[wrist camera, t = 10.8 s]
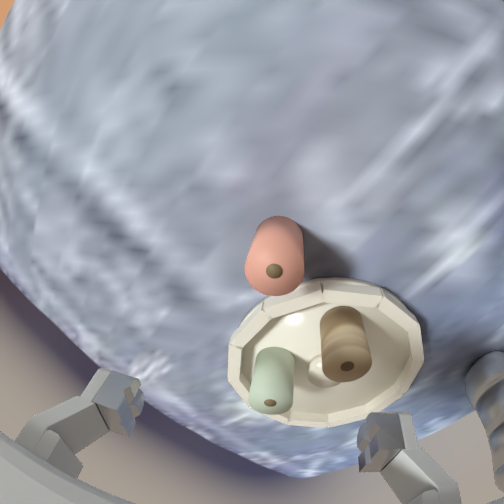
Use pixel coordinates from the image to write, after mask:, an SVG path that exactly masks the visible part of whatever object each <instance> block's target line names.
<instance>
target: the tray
mask: <svg viewBox="0 0 504 504" xmlns="http://www.w3.org/2000/svg"><path fill="white" fill-rule="evenodd" d="M337 306H350V307H353V308H355V309H356V310H358V311H359V313H360V314H361V317H362V320H363V324H364V328H365V332H366V337H367V341H368V345H369V349H370V354H371V358H372V366H371V368H370V370H369V371H368V372H367V373H366V374H365V375H364V376H363V377H361V378H359V379H357V380H355V381H351V382H335V381H332V380H330V379H328V378H327V377H326V376H325V375H324V373H323V371H322V355H321V338H320V320H321V318H322V316H323V315H324V313H326V312H327V311H328V310H329V309H331V308H334V307H337ZM267 347H281V348H284V349H287V350H288V351H290V352H291V353H292V354H293V356H294V358H295V372H294V391H293V405H292V407H291V409H290V410H288V411H287V412H285V413H282V414H277V415H268V414H263V413H261V414H263V415H266V416H268V417H270V418H272V419H274V420H277V421H279V422H281V423H284V424H286V423H287V425H296V426H309V427H325V428H328V426H329V427H334V426H338V425H342V424H347V423H351V422H355V421H358V420H362V419H366V417H367V416H368V414H369V413H371V412H379V411H381V410H383V409H384V408H386V407H387V406H389V405H390V404H392V403H393V402H395V401H396V400H397V399H399V398H400V397H402V396H403V395H404V393H406V392H407V390H408V389H409V387H410V385H411V384H412V382H413V380H414V379H415V377H416V375H417V373H418V372H419V370H420V368H421V366H422V365H423V363H424V353H423V345H422V338H421V330H420V325H419V323H418V321H417V319H416V317H415V315H413V314H412V313H411V312H410V311H409V310H408V309H407V307H406V306H405V305H404V303H403V302H402V301H401V300H400V299H399V298H398V297H396V296H395V295H394V294H392V293H391V292H389V291H388V290H386V289H384V288H382V287H380V286H378V285H376V284H373V283H370V282H367V281H363V280H358V279H353V278H341V277H329V278H317V279H311V280H306V281H302V282H301V284H300V285H299V286H298V287H297V288H296V289H295V290H294V291H292V292H291V293H289V294H286V295H282V296H269V295H268V296H267V297H265V298H264V299H263V300H261V301H260V302H258V303H257V304H256V305H255V306H254V307H253V308H252V309H251V310H250V311H249V312H248V313H247V314H246V316H245V317H244V318H243V319H242V321H241V323H240V325H239V326H238V328H237V330H236V331H235V332H234V333H233V334H232V336H231V340H230V343H229V356H228V381H229V382H230V384H231V385H232V386H233V388H234V389H235V390H236V391H237V393H238V394H239V395H240V397H241V398H242V399H243V400H244V402H245V403H246V404H247V405H248V407H250V405H249V403H248V397H249V392H250V387H251V382H252V376H253V371H254V366H255V360H256V356H257V354H258V353H259V352H260V351H261V350H262V349H264V348H267ZM251 409H253V408H251ZM253 410H254V409H253ZM259 413H260V412H259Z"/></svg>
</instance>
